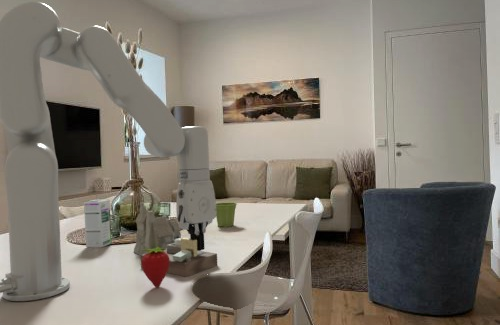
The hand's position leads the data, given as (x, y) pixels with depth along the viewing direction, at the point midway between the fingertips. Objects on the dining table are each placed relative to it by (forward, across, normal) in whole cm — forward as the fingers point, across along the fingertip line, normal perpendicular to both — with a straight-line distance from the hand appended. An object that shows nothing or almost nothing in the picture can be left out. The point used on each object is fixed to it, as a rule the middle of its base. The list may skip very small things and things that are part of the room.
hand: (197, 249), depth 102 cm
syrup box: (+4, +2, +45) cm, 45 cm away
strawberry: (+4, -16, -3) cm, 17 cm away
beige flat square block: (+1, -3, 0) cm, 3 cm away
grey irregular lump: (+5, +8, +22) cm, 24 cm away
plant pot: (+5, +47, +30) cm, 57 cm away
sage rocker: (+1, -6, 0) cm, 6 cm away
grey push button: (+1, +1, +7) cm, 7 cm away
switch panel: (+4, -2, +5) cm, 7 cm away
